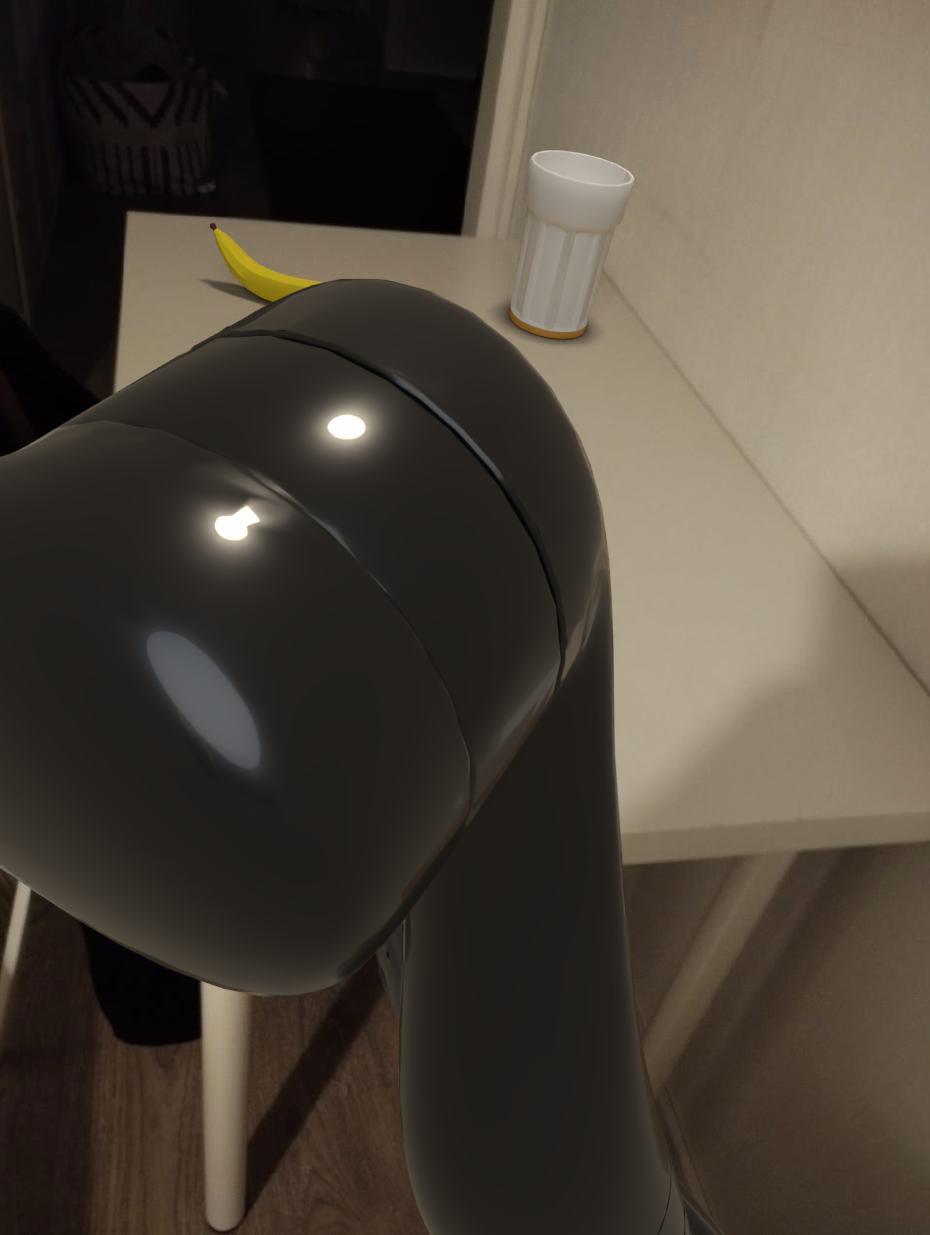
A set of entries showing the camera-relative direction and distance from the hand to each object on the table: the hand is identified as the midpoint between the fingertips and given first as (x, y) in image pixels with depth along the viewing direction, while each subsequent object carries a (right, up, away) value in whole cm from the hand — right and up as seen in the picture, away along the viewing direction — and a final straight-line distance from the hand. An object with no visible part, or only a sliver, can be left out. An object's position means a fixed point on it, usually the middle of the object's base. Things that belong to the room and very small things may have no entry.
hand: (359, 689), depth 56 cm
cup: (+16, +39, +60) cm, 73 cm away
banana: (-13, +38, +51) cm, 65 cm away
